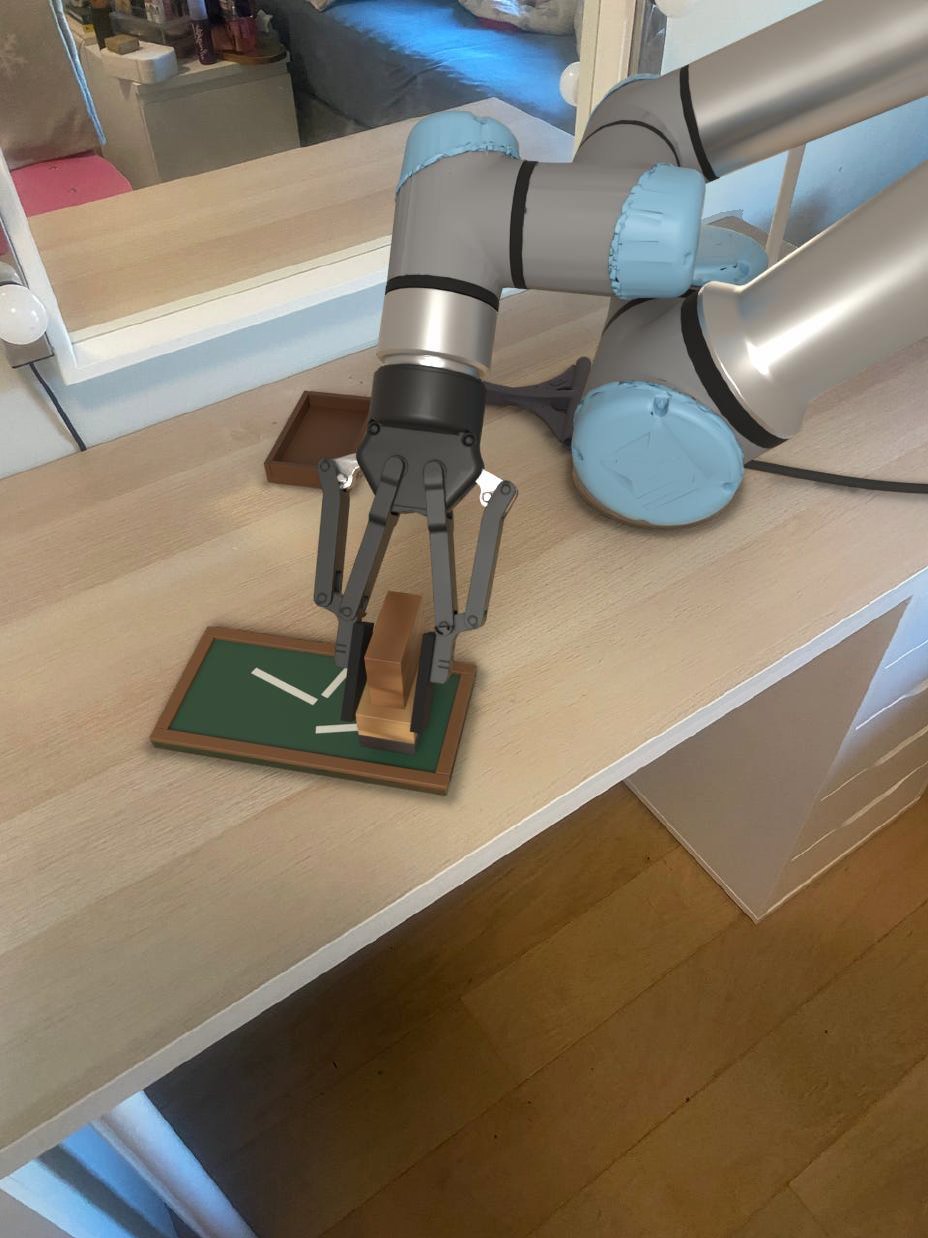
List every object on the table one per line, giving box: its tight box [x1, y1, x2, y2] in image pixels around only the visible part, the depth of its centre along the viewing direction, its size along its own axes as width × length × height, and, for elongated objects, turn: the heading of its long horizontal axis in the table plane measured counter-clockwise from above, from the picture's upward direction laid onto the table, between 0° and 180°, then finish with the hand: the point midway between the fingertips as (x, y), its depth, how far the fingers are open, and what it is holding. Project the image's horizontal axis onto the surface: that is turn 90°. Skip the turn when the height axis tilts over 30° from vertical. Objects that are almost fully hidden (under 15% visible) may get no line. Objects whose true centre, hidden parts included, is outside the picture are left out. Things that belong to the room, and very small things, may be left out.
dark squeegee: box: [481, 356, 592, 451], centre depth 93 cm, size 14×15×3 cm
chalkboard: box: [149, 625, 477, 797], centre depth 67 cm, size 22×11×1 cm, turn 79°
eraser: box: [355, 590, 436, 756], centre depth 62 cm, size 4×8×9 cm, turn 169°
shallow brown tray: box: [263, 390, 371, 492], centre depth 88 cm, size 8×12×2 cm
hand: (385, 722), depth 60 cm, fingers closed on eraser, 4 cm apart
